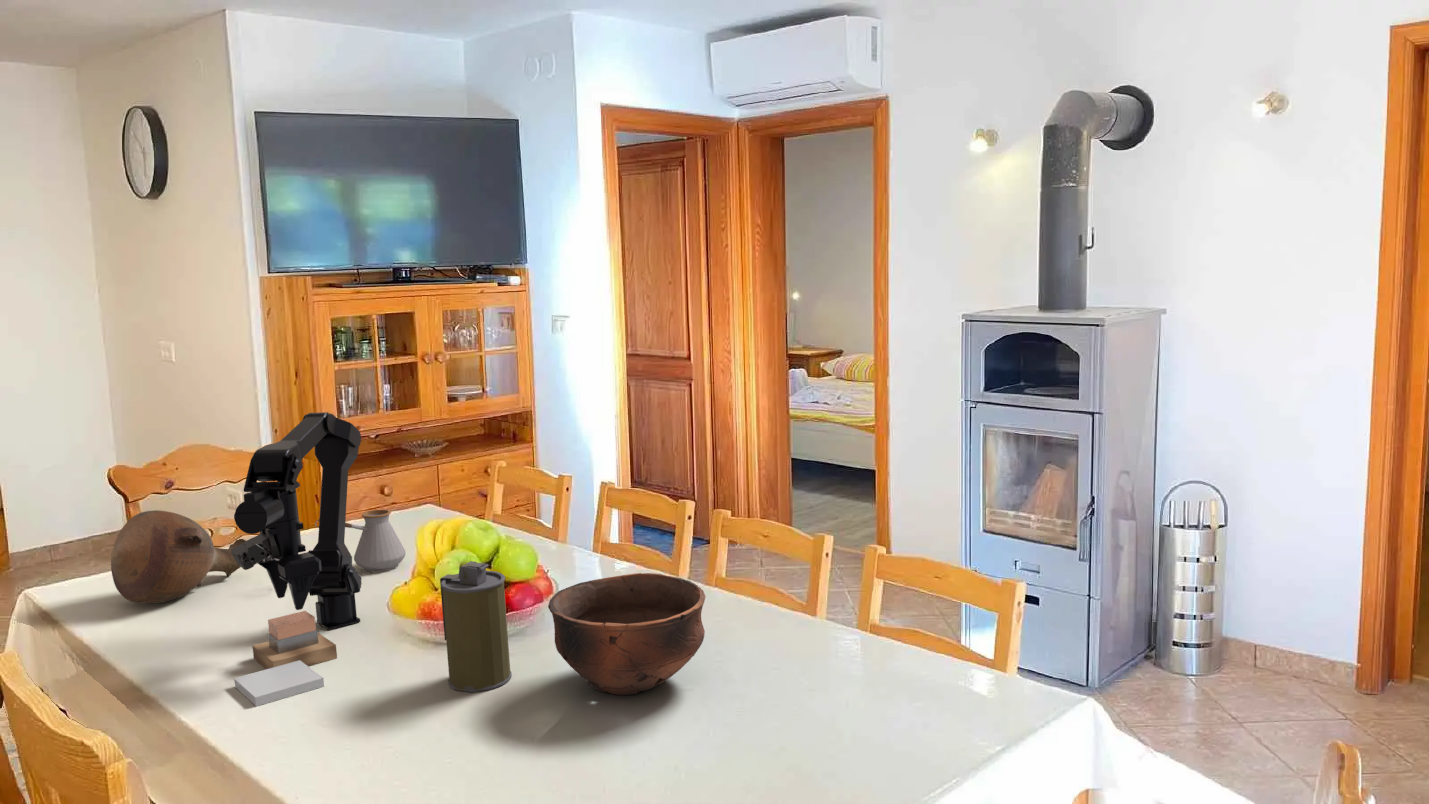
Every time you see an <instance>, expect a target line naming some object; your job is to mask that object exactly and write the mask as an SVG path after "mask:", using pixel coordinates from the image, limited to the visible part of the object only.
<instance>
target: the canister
mask: <svg viewBox="0 0 1429 804" xmlns="http://www.w3.org/2000/svg"><path fill="white" fill-rule="evenodd" d="M489 567H490V566H489V564H488V563H485V562H477V561H474V560H473V561H471V560H470V561H468V562H466V563H465V564H462V565H461V566H459V567H458V569H459V570H458V573H455V574H449V573H448V574H445V575H444V576H441V578H439V581H440V583H439V584H440V585H439V586H440V594H441V609H442V621H443V633H444V636H443V637H444V641H446V653H447V667H448V678H449V679H448V681H447V682H448V684H447V685H448V686H449V687H450V688H451V689H453V690H455V691H458V692H463V693H478V692H479V693H480V692H486V691H489V690H494V689H497V688H500V687H501V686H503V685H506V684H508V682H509V681H510V680H511V679H512V675H513V674H512V671H511V662H510V661H511V660H510V651H509V650H510V649H509V636H508V623H507V622H508V621H507V608H506V607H507V606H506V595H505V593H506V592H505V580H506V576H505V575H504V574H503V573H501V572H498V571H494V570H493V571H492V570H486V569H488V568H489Z"/></svg>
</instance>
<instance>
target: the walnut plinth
mask: <svg viewBox="0 0 1429 804" xmlns="http://www.w3.org/2000/svg"><path fill="white" fill-rule="evenodd" d="M251 646H252V654H253V655H252V656H253V660H255V662H257V663H258V664H260V665H261V666H262V667H263V668H264V669H265V670H266V669H270V668H273V667H277V666H281V665H284V664H288V663H291V662H295V661H299V660H300V661H302V662H303V663H304V664H306V665H307V666H308V667H310V666H313V665H317V664H318V665H319V664H321V663H324V662H329V661H331V660H335V659H338V653H337V644H335V643H334V642H333V641H331V640H330V639H328V638H327V637H325V636H324V635H322V634H320V633H319V632H318V644H315V645H311V646H307V647H304V648H300V649H296V650H292V651H289V652H285V653H281V654H278V653H277V652H275V651H274V650H273V649H272V648H270V647H269V640H268V641H265V642H260V643H256V644H253V645H251Z"/></svg>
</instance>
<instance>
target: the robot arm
mask: <svg viewBox="0 0 1429 804" xmlns="http://www.w3.org/2000/svg"><path fill="white" fill-rule="evenodd" d="M361 442H362V434H361V431H360V430H359V429H358V428H357V427H356V426H355V425H354V424H353V423H351V422H349V421H346V420H344V419H341V418H338V417H336V416H335V415H334V414H333V413H331V412H328V411H327V412H326V411H325V412H324V411H323V412H309V413H306V414H304V415H303V418H302V420H301V421H300V422H299V423H298V424H297V425H296V426H294V428H292V429H291V431H289V432H288V433H287V434H286V435H284V437H283V438H282V439H280V440H279V441H276V442H273V443H269V444H266V445H264V446H262V447H260V448H258V449H256V450H255V452H254V453H253V454H252V457H251V458H250V462H249V465H248V470H247V473H246V477H245V481H244V486H243V492H244V494H243V501H242V502H240V503H239V504H238V506H237V507H236V509H235V510H234V511H235V512H234V514H233V519H234V523H235V525H236V526H237V527H238V529H239V530H240V531H242V532H244V533H246V534H248V535H249V534H250V535H255V534H257V535H255V536H254V537H253V536H252V538H249V539H247V540H246V541H245V542H244V543H242V544H240V545H238V546H236V547H235V548H233V549H232V550H231V553H232V555H233V557H234V558H235V560H236V562H237V564H238V566H239V567H240V568H241V569H242V570H245V571H248V570H250V569H252V568H254V567H255V565H256V564H258V565H259V566H261V567H262V568H264V569H265V570H266V573H267V575H268V577H269V579H270V582H271V584H272V586H273V589H274V592H275V594H276V597H277V598H278V599H282V598H285V597H286V596H285V595H286V592H287V588H288V586H289V591H290V594H291V598H292V602H293V606H294V608H295V610H296V611H300V610H302V609H303V608H304V606H305V603H306V601H307V598H308V596H310V597H314V596H317V601H316V602H315V603H314V604H315V613H316V623H317V624H318V625H320V626H322V627H323V628H325V629H326V630H333V629H337V628H341V627H344V626H348V625H352V624H356V623H359V622H361V618H360V617H358V616H357V604H356V594H358V593H361V589H362V585H363V584H362V583H363V582H362V576H361V575H360V574H359V572H358V571H357V569H355V567H354V566H353V556H352V554H351V553H350V551H349V549H348V546H346V544H345V536H346V527H345V523H346V519H347V518H346V516H347V503H348V501H347V499H348V481H349V470H350V468H351V467H352V465H354V463H355V461H356V460H357V458H358V457H359V456H358V455H359V447H360V446H361ZM313 448H314V456H315V457H316V459H317V461H318V462H319V464H320V467H321V469H322V470H321V472H322V473H321V484H320V485H321V486H320V488H321V489H320V492H321V493H320V501H319V503H320V505H319V517H318V520H319V521H318V527H319V528H318V539H317V543H316V545H315V546H314V547H313V549H312V550H311V549H310V550H308V551H307V552H306V550H307V549H306V545H305V544H303V543H302V539H301V530H304V523H303V522H301V521H300V517H299V508H298V507H299V506H298V498H297V497H298V496H297V489H298V488H300V487H301V483H300V482H298V481H297V480H298V476H299V474H300V473H301V471H302V470H303V468H304V464H303V459H304V458H305V456H306V455H308V453H310V452H311V450H312V449H313ZM258 533H259V534H258Z"/></svg>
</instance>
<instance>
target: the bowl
mask: <svg viewBox="0 0 1429 804" xmlns="http://www.w3.org/2000/svg"><path fill="white" fill-rule="evenodd" d="M706 598H707V595H706V594H705V592H704V590H703V589H702V588H701V587H700V586H699V585H698V584H696V583H695V582H692V581H691V580H688V579H684V578H681V577H678V576H671V575H666V574H663V573H653V572H652V573H651V572H643V573H641V572H637V573H636V572H635V573H628V574H622V575H617V576H608V577H604V578H598V579H597V578H596V579H591V580H587V581H583V582H579V583H576V584H573V585H570V586H568V587H566V588H563V589H561V590H558V591H557V592H556V593H555V594H553V596H552V597H551V598H550V599H549V601H548V607H547V608H548V610H549V612H550V613H551V615H552V621H553V624H554V626H553V627H554V628H553V629H554V645H555V648H556V651H557V652H558V654H560V656H561V658H562V660H564V661H565V662H566V663H567V664H568V666H569V667H570V668H572V670H573V671H575V672H576V673H577V674H578V675H579V676H580V677H581V678H583V679H584V680H585V681H586V682H588V684H590V686H591V687H593V688H594V689H596V690H597V691H599V692H602V693H609V694H612V695H618V696H625V695H626V696H629V695H636V694H639V693H641V692H647V691H648V690H650V689H653V688H654V687H657V686H658V685H660V684H662V683H664V682H666V681H667V680H668V679H670V678H671V677H672V676H674V675H676V673H678V672H679V671H680V670H681V669H682V668H683V667H684V666H686V664H687V663H689V661H690V660H691V659H692V657H694V656H695V655H696V653H697V652H698V650H699V649H700V647H701V646H702V645H703V642H704V638H705V633H706V632H705V631H706V630H705V628H704V625H703V619H702V613H703V607H704V604H705V601H706Z"/></svg>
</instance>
